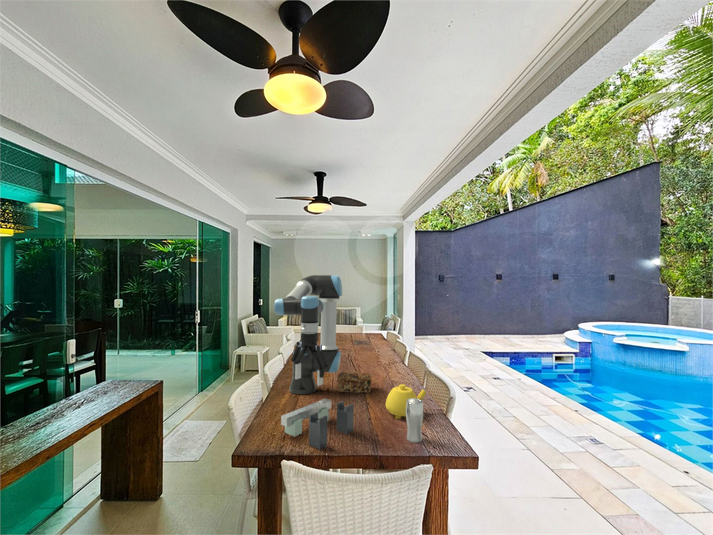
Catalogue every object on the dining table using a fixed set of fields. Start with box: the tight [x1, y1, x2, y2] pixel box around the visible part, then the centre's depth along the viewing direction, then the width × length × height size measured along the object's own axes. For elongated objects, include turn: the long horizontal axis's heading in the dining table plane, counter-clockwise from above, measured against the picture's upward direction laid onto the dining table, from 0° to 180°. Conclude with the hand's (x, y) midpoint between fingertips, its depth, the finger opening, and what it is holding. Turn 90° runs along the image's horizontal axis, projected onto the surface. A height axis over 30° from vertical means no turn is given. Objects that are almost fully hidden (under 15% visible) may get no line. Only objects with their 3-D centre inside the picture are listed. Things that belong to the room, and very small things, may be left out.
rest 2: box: [318, 407, 330, 422], centre depth 156 cm, size 6×4×6 cm, turn 52°
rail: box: [280, 398, 332, 428], centre depth 150 cm, size 4×26×4 cm, turn 142°
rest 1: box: [284, 419, 303, 438], centre depth 143 cm, size 6×4×6 cm, turn 52°
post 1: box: [308, 412, 328, 450], centre depth 133 cm, size 6×4×11 cm
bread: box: [337, 371, 372, 394], centre depth 198 cm, size 19×11×10 cm, turn 88°
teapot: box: [385, 384, 428, 420], centre depth 164 cm, size 20×16×14 cm
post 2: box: [336, 400, 355, 435], centre depth 146 cm, size 6×4×11 cm
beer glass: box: [405, 398, 424, 444], centre depth 139 cm, size 7×7×15 cm
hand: (308, 381), depth 151 cm, fingers open, 13 cm apart
